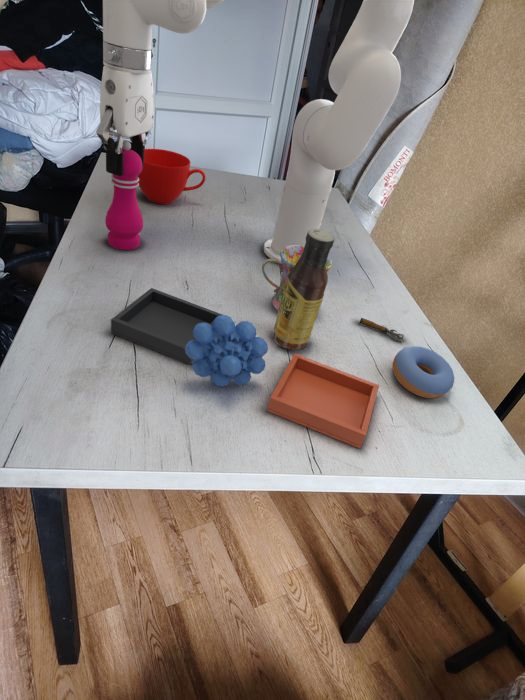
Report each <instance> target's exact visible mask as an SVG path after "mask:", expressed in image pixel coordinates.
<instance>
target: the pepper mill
mask: <svg viewBox="0 0 525 700" xmlns="http://www.w3.org/2000/svg"><path fill="white" fill-rule="evenodd" d="M130 142H131V141H129V140H126V139H124V141H123V145H122V150H121V153H124V160H123V176H117V175H114V174H111V176H110V178H111V180H110V183H111V184H112V185H113V196H112V200H111V203H110V205H109V207H108V209H107V211H106V215H105V219H104V221H105V222H104V224H105V227H106V229H107V230H108V231H109V232H108V233H107V243H108V245H109V246H110V247H112V248H113V249H117V250H120V251H121V250H122V251H130V250H135V249H137V248H140V245H141V235H140V233H141V232H142V231H143V229H144V219H143V215H142V212H141V209H140V207H139V204H138V200H137V188H138V187H139V183H138V181H139V178H138V177H137V176H138V175H139V174H140V173H141V171H142V160H141V158H140V156H139V155H138V154H137V153H136V152H135V151H133V150H130V149H131V144H130Z"/></svg>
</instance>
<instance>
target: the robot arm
mask: <svg viewBox="0 0 525 700" xmlns="http://www.w3.org/2000/svg"><path fill="white" fill-rule="evenodd" d="M224 1H226V0H102V59H103V60H102V64H103V67H102V76H101V84H100V97H99V98H100V99H99V119H100V122H99V124H98V127H97V128H96V131H95V132H96V135H97V137H98V138H99V140H100V142H101V143H102V145H103V149H104V150H105V171H106V173H108V174H111V175H112V174H114V175H117V176H123V160H124V153H121V150H122V145H123V141H124V140H125V139H128V138H129V140H130V141H129V142H130V144H131V149H130V150H133V151H135V152H136V153H137V154H138V155H139V156H140V158H141V160H142V168H143V167H144V149H146V147H145V146H146V145H147V137H148V134H149V132H150V131H151V130H152V129H153V128H154V121H155V120H154V119H155V118H154V116H155V113H154V112H155V100H154V99H155V97H154V96H155V94H154V93H155V92H154V91H155V90H154V80H153V79H154V78H153V71H152V55H153V34H154V33H153V30H154V25H155V26H157V27H160V28H163V29H165V30H168V31H171V32H173V33H177V34H189V33H193V32H195V31H196V30H198V28H200V27H201V25H202V24H203V22H204V20H205V18H206V14H207V12H208V11H209V10H211V9H213V8H214V7H216V6H217V5H219V4H221V3H222V2H224ZM414 5H415V0H363V1H362V3H361V6H360V8H359V10H358V12H357V14H356V16H355V19H354V20H353V22H352V25H351V26H350V28H349V30H348V32H347V33H346V35H345V36H344V39H343V41H342V43H341V45H340V46H339V48H338V50H337V52H336V53H335V55H334V57H333V58H332V60H331V63H330V66H329V69H328V82H329V86H330V88H331V89H332V91H333V92H334V94H336V95H337V96H336V98H335V100H334V101H331V100H329V99H323V98H320V99H319V98H318V99H314V100H311V101H309V102H307V103H306V104H305V105H304V106H303V107H302V108H301V109H300V110H299V112H298V114H297V115H296V118H295V121H294V123H293V129H292V136H291V146H290V147H291V148H290V154H289V162H288V167H287V172H286V177H285V181H284V186H283V190H282V193H281V198H280V204H279V208H278V212H277V216H276V222H275V227H274V230H273V236H272V238H270V239H268V240H266V241H265V242H264V244H263V253H264V254H265V255H266V256H267V257H268V259H275V260H277V261H279V262H280V264H281V265H282V261H281V256H280V252H281V250H282V249H283V248H284V247H286V246H290V245H302V246H305V244H306V236H307V233H308V231H309V230H310V229H313V228H318V229H321V227H322V223H323V219H324V215H325V212H326V209H327V208H326V207H327V204H328V201H329V197H330V195H331V191H332V189H333V188H332V187H333V184H334V179H335V174H336V171H341V170H344V169H346V168H349V167H351V165H353V164H354V163H355V162H356V161H357V160H358V159H359V158H360V156H361V155H362V154H363V152H364V151H365V149H366V148H367V146H368V145H369V143H370V141H371V140H372V138H373V136H374V135H375V133H376V132H377V131H378V129H379V127H380V126H381V124H382V122H383V121H384V119H385V118H386V116H387V114H388V112H389V111H390V109H391V107H392V105H393V104H394V102H395V100H396V98H397V96H398V93H399V90H400V87H401V81H402V72H401V71H402V69H401V65H400V62H399V60H398V59H397V57H396V56H395V55H394V54H393V52H394V51H395V49H396V47H397V45H398V43H399V41H400V40H401V38H402V35H403V34H404V31H405V30H406V28H407V26H408V24H409V21H410V19H411V16H412V13H413V9H414ZM113 137H116V141H115V139H114V138H113Z"/></svg>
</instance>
